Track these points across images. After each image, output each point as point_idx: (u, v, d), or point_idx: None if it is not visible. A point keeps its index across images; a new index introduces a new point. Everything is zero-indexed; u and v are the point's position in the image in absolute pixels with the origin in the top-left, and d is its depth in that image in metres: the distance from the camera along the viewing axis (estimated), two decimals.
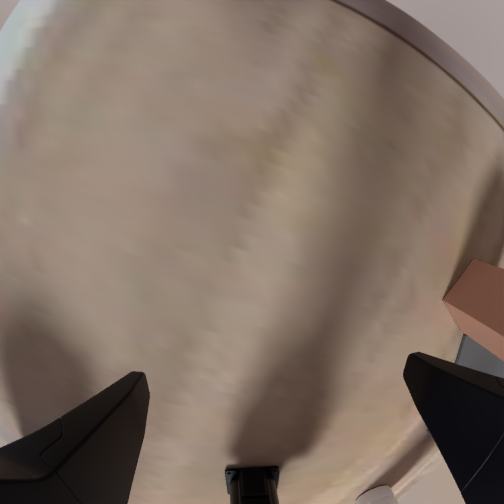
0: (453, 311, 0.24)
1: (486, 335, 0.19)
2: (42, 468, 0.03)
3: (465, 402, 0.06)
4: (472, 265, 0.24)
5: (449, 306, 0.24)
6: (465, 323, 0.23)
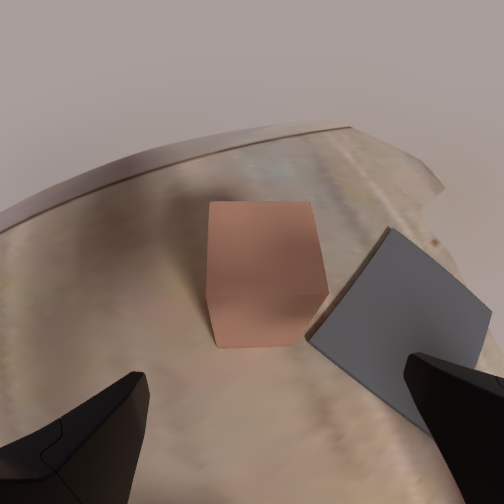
0: (234, 343, 0.21)
1: (248, 321, 0.17)
2: (42, 468, 0.03)
3: (465, 402, 0.06)
4: None
5: (225, 345, 0.21)
6: (252, 338, 0.20)
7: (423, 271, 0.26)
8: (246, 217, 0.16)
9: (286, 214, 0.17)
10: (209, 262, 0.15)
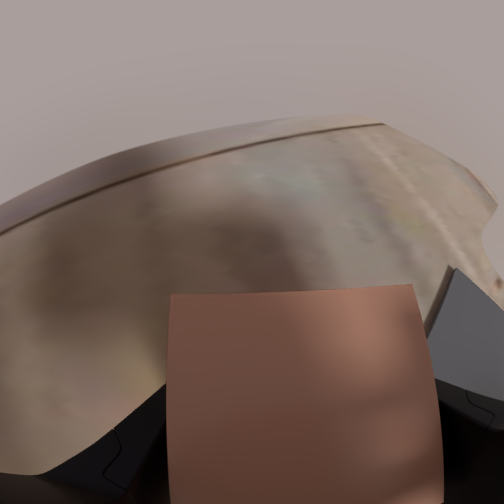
0: None
1: None
2: (110, 489, 0.03)
3: None
4: None
5: None
6: None
7: (492, 328, 0.16)
8: (269, 346, 0.06)
9: (368, 327, 0.06)
10: (175, 480, 0.04)
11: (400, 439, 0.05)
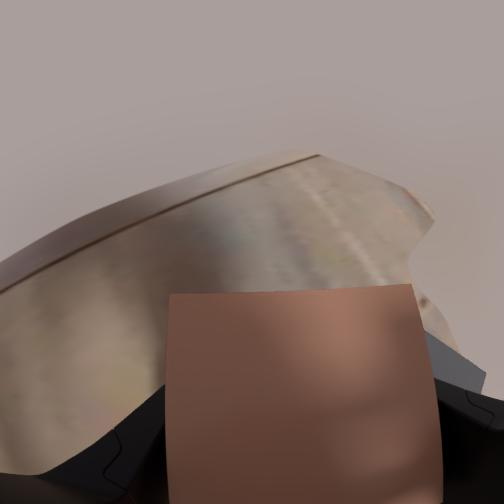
0: None
1: None
2: (110, 488, 0.03)
3: None
4: None
5: None
6: None
7: None
8: (267, 345, 0.06)
9: (366, 327, 0.06)
10: (174, 480, 0.04)
11: (399, 439, 0.05)
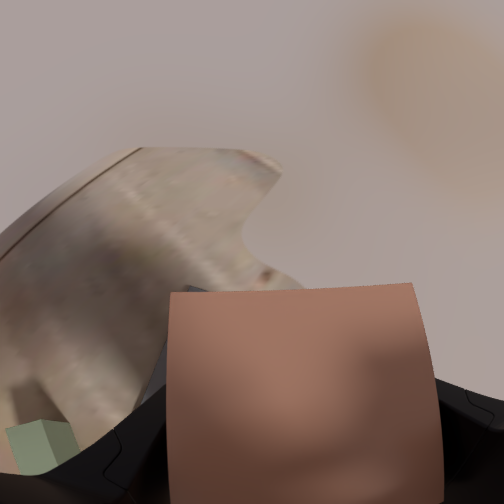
0: None
1: None
2: (110, 489, 0.03)
3: None
4: None
5: None
6: None
7: None
8: (269, 344, 0.06)
9: (368, 325, 0.06)
10: (175, 479, 0.04)
11: (400, 438, 0.05)
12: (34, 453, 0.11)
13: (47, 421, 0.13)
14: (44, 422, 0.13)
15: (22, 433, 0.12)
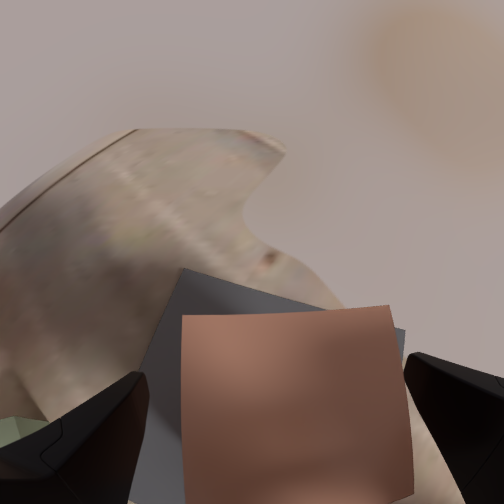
0: None
1: None
2: (42, 468, 0.03)
3: (465, 402, 0.06)
4: None
5: None
6: None
7: None
8: (264, 358, 0.07)
9: (347, 343, 0.07)
10: (188, 468, 0.05)
11: (373, 437, 0.06)
12: None
13: (21, 418, 0.11)
14: (18, 419, 0.10)
15: None
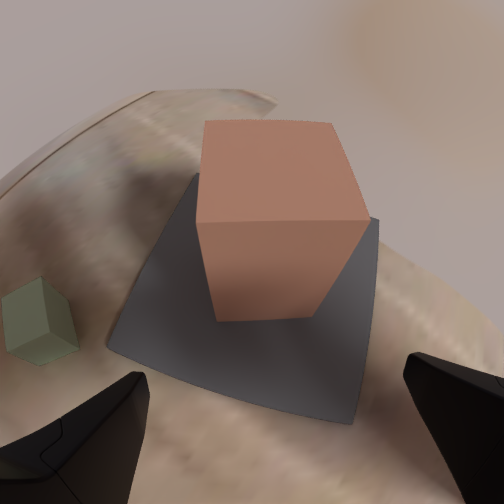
0: (238, 314, 0.17)
1: (257, 274, 0.13)
2: (42, 468, 0.03)
3: (465, 402, 0.06)
4: None
5: (226, 316, 0.17)
6: (261, 304, 0.16)
7: None
8: (252, 134, 0.12)
9: (303, 132, 0.12)
10: (202, 181, 0.10)
11: (326, 174, 0.11)
12: (25, 314, 0.14)
13: (47, 282, 0.16)
14: (43, 280, 0.15)
15: (18, 296, 0.14)
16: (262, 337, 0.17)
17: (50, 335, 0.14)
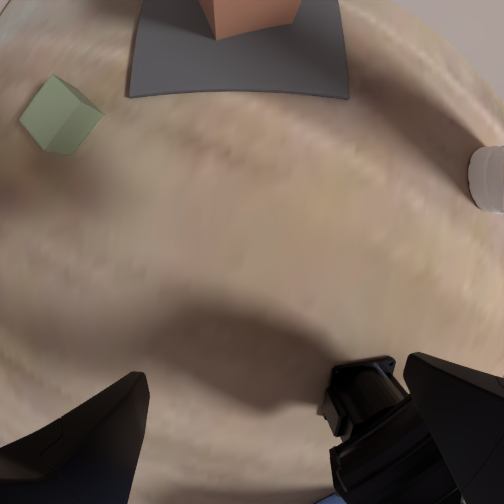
0: (234, 27, 0.16)
1: None
2: (42, 468, 0.03)
3: (465, 402, 0.06)
4: None
5: (224, 32, 0.16)
6: (253, 13, 0.14)
7: None
8: None
9: None
10: None
11: None
12: (50, 108, 0.14)
13: (58, 77, 0.14)
14: (56, 76, 0.14)
15: (36, 103, 0.14)
16: (257, 42, 0.17)
17: (81, 107, 0.15)
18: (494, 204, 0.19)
